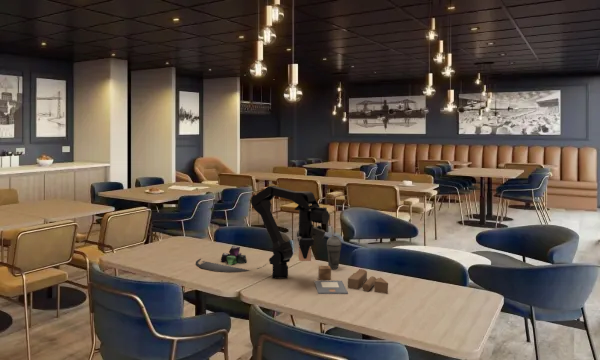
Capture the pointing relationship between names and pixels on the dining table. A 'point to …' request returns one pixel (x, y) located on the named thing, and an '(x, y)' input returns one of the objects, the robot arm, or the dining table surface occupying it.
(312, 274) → the dining table surface
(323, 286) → the grey flat plate
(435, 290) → the dining table surface
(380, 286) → the wooden block set
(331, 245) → the beverage cup
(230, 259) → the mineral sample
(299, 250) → the terracotta block
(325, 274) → the walnut block
